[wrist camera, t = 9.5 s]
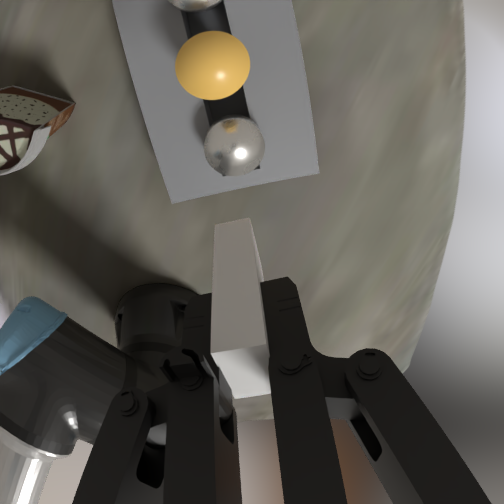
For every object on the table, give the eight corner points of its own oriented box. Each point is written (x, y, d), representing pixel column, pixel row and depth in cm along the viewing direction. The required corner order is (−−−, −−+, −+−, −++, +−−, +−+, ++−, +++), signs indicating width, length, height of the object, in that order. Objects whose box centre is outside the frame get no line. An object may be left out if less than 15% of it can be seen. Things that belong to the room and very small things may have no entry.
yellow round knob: (194, 95, 24) (185, 107, 19) (180, 43, 21) (167, 41, 16) (251, 83, 24) (256, 91, 19) (239, 30, 21) (242, 23, 16)
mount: (174, 181, 33) (166, 205, 29) (119, -16, 20) (98, -26, 16) (311, 153, 33) (325, 172, 28) (272, -53, 19) (281, -71, 15)
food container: (-5, 130, 27) (-56, 162, 19) (4, 82, 24) (-53, 104, 15) (73, 157, 30) (29, 198, 22) (87, 106, 27) (39, 132, 19)
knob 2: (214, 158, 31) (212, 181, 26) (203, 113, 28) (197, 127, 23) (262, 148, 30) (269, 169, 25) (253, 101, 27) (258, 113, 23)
